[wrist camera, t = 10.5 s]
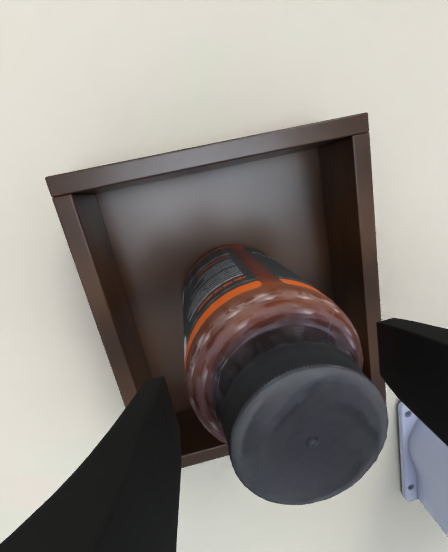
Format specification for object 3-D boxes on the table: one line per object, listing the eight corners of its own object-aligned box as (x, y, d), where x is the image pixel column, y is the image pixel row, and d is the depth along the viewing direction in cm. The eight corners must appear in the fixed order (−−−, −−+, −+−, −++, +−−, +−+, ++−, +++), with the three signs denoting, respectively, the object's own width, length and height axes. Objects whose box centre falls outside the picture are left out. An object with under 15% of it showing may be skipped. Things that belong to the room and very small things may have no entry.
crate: (350, 372, 21) (387, 412, 17) (156, 423, 20) (149, 477, 16) (326, 130, 17) (368, 111, 13) (77, 181, 16) (43, 177, 12)
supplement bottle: (166, 320, 18) (142, 515, 7) (206, 225, 17) (248, 282, 6) (257, 351, 19) (354, 555, 8) (299, 265, 18) (474, 371, 7)
